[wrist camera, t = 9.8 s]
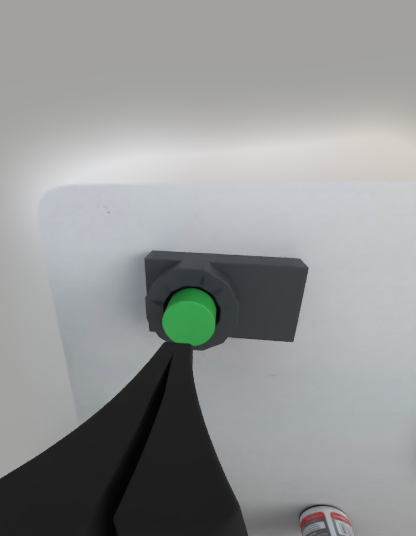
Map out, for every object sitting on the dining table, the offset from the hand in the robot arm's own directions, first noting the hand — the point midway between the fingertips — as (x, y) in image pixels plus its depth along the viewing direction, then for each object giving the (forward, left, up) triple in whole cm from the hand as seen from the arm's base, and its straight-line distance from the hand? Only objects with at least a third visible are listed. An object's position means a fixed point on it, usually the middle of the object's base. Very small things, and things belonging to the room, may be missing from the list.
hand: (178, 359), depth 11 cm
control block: (+2, 0, -8) cm, 8 cm away
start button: (0, 0, -5) cm, 5 cm away
